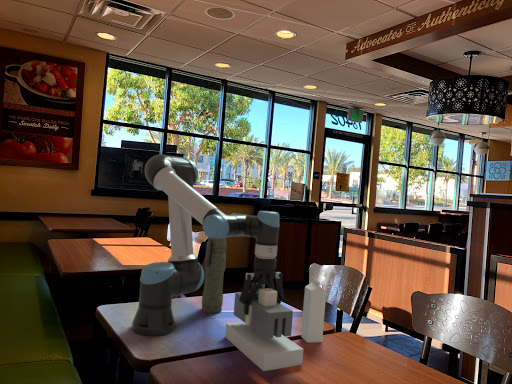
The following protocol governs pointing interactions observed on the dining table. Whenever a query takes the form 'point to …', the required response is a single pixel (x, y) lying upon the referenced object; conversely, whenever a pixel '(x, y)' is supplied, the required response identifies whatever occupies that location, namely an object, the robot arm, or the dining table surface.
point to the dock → (264, 347)
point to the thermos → (214, 275)
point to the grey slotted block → (266, 318)
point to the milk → (313, 312)
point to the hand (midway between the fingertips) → (260, 322)
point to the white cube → (267, 297)
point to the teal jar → (258, 292)
